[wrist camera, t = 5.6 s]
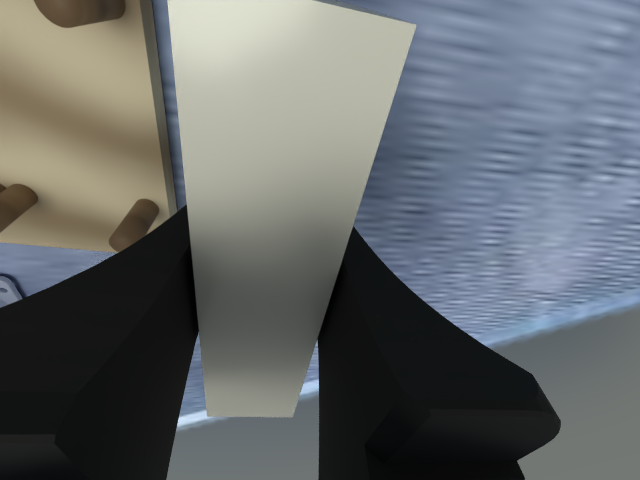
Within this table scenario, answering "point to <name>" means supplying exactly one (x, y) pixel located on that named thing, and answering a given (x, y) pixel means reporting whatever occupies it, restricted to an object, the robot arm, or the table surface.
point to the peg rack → (81, 125)
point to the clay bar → (274, 176)
